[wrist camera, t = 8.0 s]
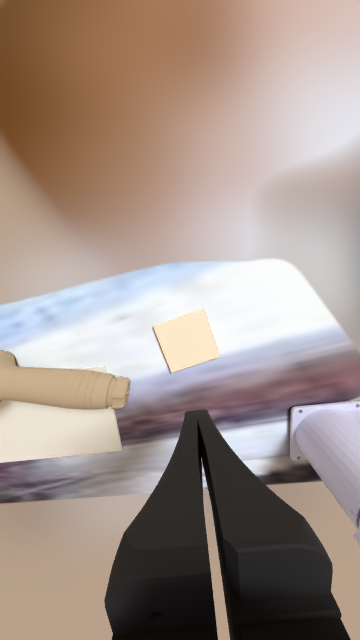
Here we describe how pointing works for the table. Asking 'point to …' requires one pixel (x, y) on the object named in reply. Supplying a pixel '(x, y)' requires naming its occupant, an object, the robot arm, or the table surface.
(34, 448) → the felt mat
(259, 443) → the table surface
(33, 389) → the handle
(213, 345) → the beige tile
